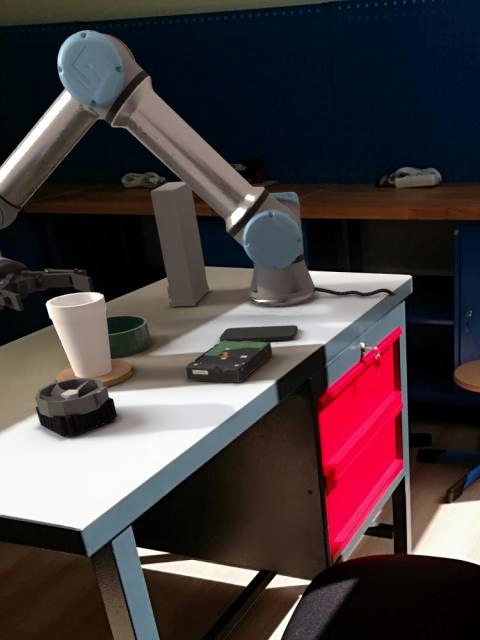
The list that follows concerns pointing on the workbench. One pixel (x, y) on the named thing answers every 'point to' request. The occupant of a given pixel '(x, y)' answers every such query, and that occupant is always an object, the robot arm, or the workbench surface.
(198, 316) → the workbench surface
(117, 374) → the pot holder
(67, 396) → the cpu cooler
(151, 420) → the workbench surface
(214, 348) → the disk drive
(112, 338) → the pot
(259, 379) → the workbench surface
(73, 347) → the foam cup
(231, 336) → the phone
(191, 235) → the tall grey upright pillar
